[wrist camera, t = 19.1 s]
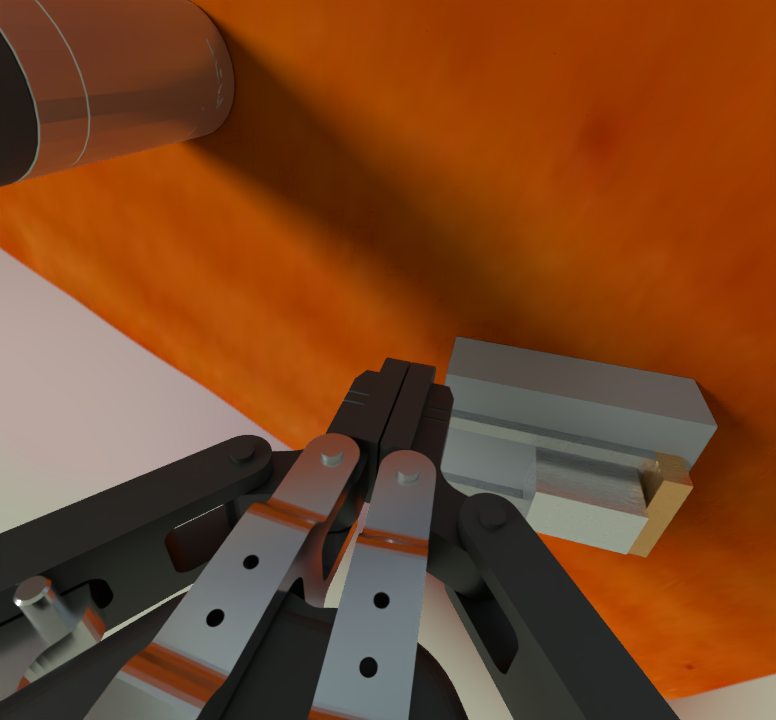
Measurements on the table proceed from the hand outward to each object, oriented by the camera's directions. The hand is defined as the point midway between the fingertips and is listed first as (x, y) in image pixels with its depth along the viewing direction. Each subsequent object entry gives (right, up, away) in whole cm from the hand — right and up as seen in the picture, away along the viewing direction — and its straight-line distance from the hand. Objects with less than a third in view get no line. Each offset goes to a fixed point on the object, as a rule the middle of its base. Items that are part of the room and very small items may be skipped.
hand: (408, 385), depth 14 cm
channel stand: (+15, -6, +30) cm, 34 cm away
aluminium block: (+16, -9, +25) cm, 31 cm away
